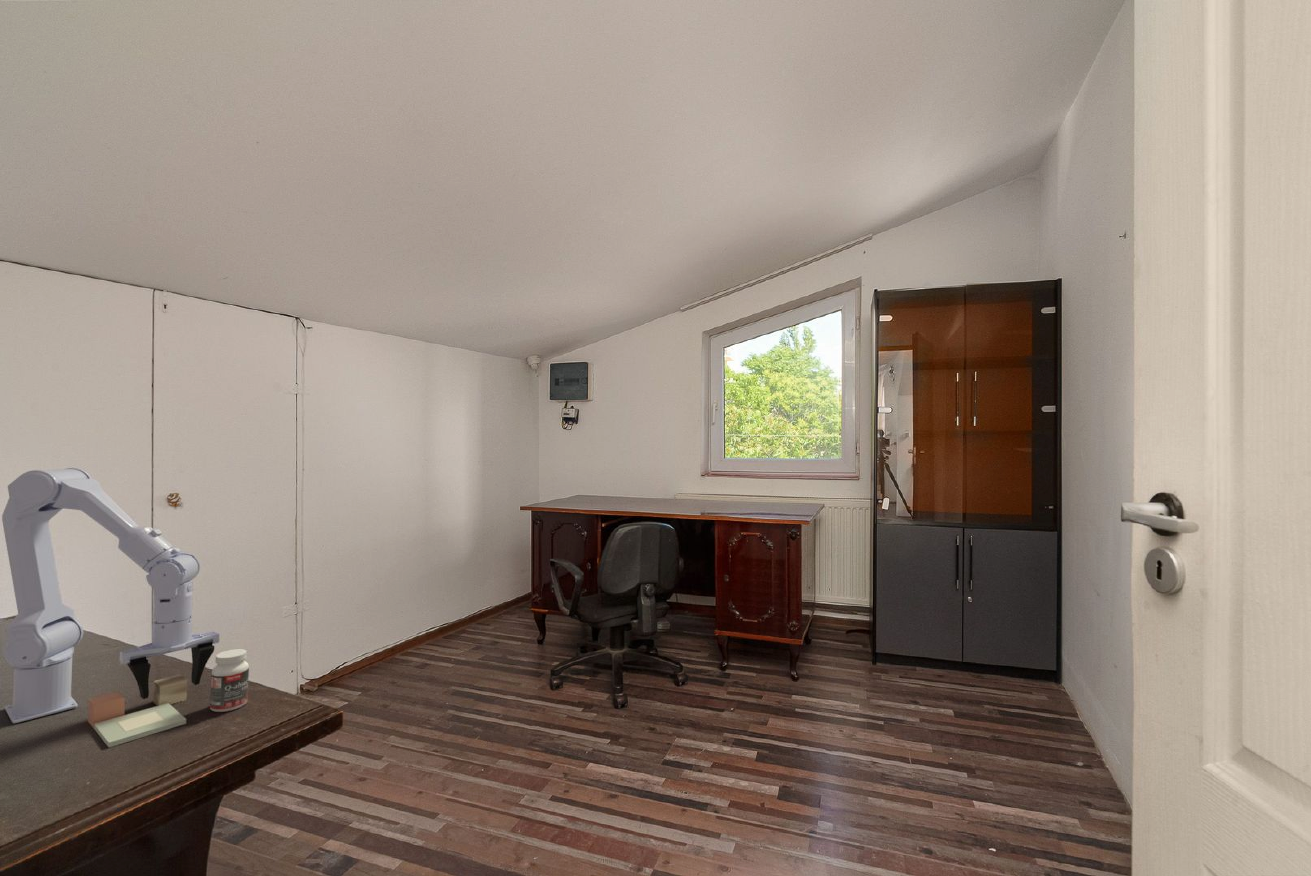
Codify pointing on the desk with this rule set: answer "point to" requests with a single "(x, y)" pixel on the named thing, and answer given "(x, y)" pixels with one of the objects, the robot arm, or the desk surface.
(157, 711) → the board
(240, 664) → the pill bottle
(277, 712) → the desk surface
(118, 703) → the terracotta cube
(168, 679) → the beech cube
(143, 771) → the desk surface
